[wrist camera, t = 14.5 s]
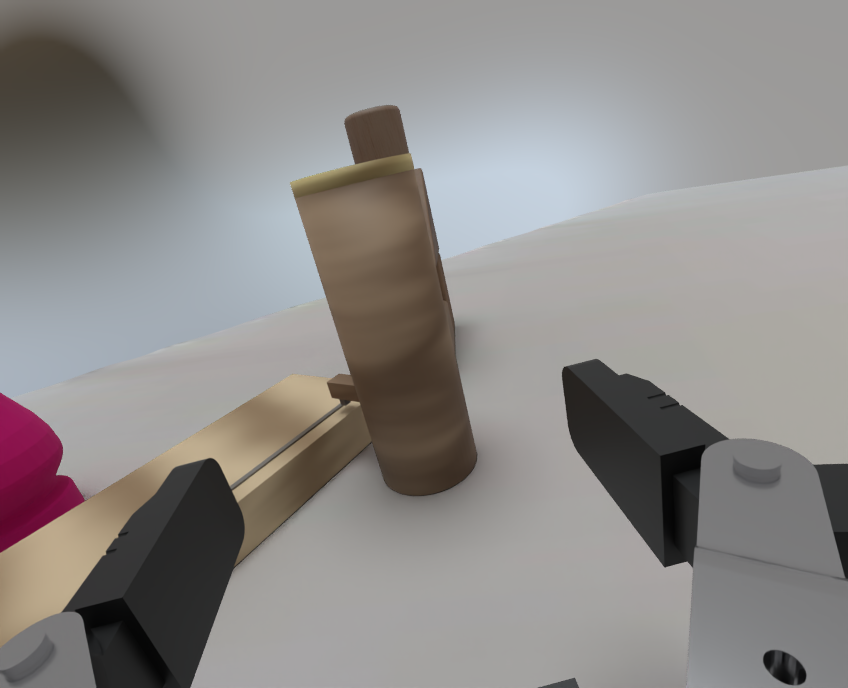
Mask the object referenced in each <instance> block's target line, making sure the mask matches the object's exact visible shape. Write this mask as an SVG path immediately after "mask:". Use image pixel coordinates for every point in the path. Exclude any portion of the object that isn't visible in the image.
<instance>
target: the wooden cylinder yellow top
mask: <svg viewBox="0 0 848 688" xmlns="http://www.w3.org/2000/svg"><path fill="white" fill-rule="evenodd" d="M290 184H291V188H292V190H293V194H294V197H295V200H296V203H297V207H298V210H299V213H300V216H301V219H302V222H303V225H304V228H305V232H306V235H307V238H308V241H309V244H310V248H311V251H312V254H313V257H314V260H315V263H316V266H317V269H318V273H319V276H320V279H321V282H322V285H323V289H324V291H325V295H326V298H327V301H328V304H329V308H330V311H331V314H332V317H333V320H334V323H335V326H336V330H337V333H338V336H339V339H340V342H341V345H342V349H343V352H344V355H345V358H346V361H347V364H348V367H349V371H350V374H351V375H345V374H338V375H337V376H335V377H334V378H332V379H331V380H329V381H328V382H327V385H328V388H329V391H330V394H331V397H332V398H334V399H339V400H340V403H341V405H344V406H347V405H348V404H349V403H350V402H351V401H355V402H360V405H361V408H362V412H363V415H364V418H365V421H366V424H367V427H368V431H369V434H370V437H371V440H372V443H373V446H374V449H375V453H376V456H377V459H378V462H379V465H380V468H381V472H382V475H383V478H384V481H385V482H386V484H387V485H388V486H389V487H390V488H391V489H392V490H394V491H396V492H398V493H401V494H405V495H413V496H421V495H429V494H434V493H438V492H441V491H444V490H447V489H449V488H451V487H453V486H455V485H456V484H458V483H459V482H461V481H462V480H463V479H465V478H466V477H467V476H468V475H469V474H470V472H471V471H472V470H473V468H474V466H475V464H476V460H477V452H476V447H475V443H474V438H473V434H472V429H471V425H470V420H469V416H468V411H467V407H466V402H465V397H464V393H463V388H462V384H461V379H460V375H459V370H458V366H457V361H456V357H455V352H454V347H453V343H452V338H451V334H450V329H449V325H448V320H447V316H446V311H445V307H444V302H443V297H442V293H441V288H440V284H439V279H438V275H437V270H436V266H435V261H434V257H433V252H432V247H431V243H430V238H429V234H428V229H427V225H426V220H425V216H424V211H423V207H422V202H421V197H420V193H419V188H418V184H417V179H416V175H415V170H414V166H413V161H412V157H411V154H410V153H409V154H402V155H396V156H391V157H386V158H382V159H377V160H372V161H368V162H364V163H359V164H355V165H351V166H347V167H343V168H339V169H335V170H331V171H327V172H323V173H320V174H316V175H312V176H309V177H305V178H302V179H299V180H296V181H293V182H290Z"/></svg>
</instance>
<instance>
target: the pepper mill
mask: <svg viewBox="0 0 848 688" xmlns="http://www.w3.org/2000/svg"><path fill="white" fill-rule="evenodd" d="M62 455H63V446H62V443H61V441H60V439H59V438H58V436H57V435H56V434H55V433H54V431H53V430H52V429H51V427H50V426H49V425H48V424H47V423H45V422H44V421H43V420H42V419H41V418H39V417H38V416H37V415H36V414H34V413H33V412H32V411H30V410H28V409H27V408H25V407H23V406H21V405H20V404H18V403H16V402H15V401H13V400H11V399H10V398H8V397H6V396H5V395H3V394H2V393H0V553H1V552H3V551H4V550H6V549H8V548H9V547H11V546H13V545H14V544H16V543H18V542H19V541H21V540H22V539H24V538H26V537H27V536H29V535H31V534H32V533H34V532H36V531H37V530H39V529H40V528H42V527H44V526H45V525H47V524H49V523H50V522H52V521H53V520H55V519H57V518H58V517H60V516H62V515H63V514H65V513H67V512H68V511H70V510H71V509H73V508H75V507H76V506H78V505H80V504H81V503H83V502H84V498H83V496H82V494H81V493H80V491H79V490H78V488H77V486H76V485H75V483H74V482H73V480H72V479H71V478H70V477H68V476H63V475H56V473H57V470H58V468H59V465H60V462H61V459H62Z"/></svg>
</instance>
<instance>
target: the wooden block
mask: <svg viewBox="0 0 848 688" xmlns="http://www.w3.org/2000/svg"><path fill="white" fill-rule="evenodd" d="M344 124H345V128H346V131H347V135H348V139H349V143H350V146H351V151H352V154H353V158H354V162H355V164H359V163H364V162H368V161H372V160H377V159H382V158H386V157H391V156H396V155H402V154H409V151H408V147H407V142H406V137H405V133H404V129H403V123H402V119H401V114H400V110H399V109H398V107H397V106H393V105H384V106H378V107H373V108H369V109H365V110H362V111H358V112H356V113H353V114H351V115H349V116H348V117H347V118H346V119H345V123H344ZM414 170H415V175H416V179H417V184H418V188H419V193H420V197H421V202H422V207H423V211H424V216H425V220H426V225H427V229H428V234H429V238H430V243H431V247H432V252H433V257H434V261H435V266H436V270H437V275H438V279H439V284H440V288H441V293H442V297H443V302H444V307H445V311H446V316H447V320H448V325H449V329H450V334H451V338H452V343H453V347H454V352H455V324H454V318H453V313H452V309H451V304H450V299H449V295H448V290H447V285H446V281H445V276H444V271H443V267H442V262H441V257H440V254H439V253H438V252H439V246H438V242H437V237H436V232H435V228H434V223H433V218H432V214H431V209H430V204H429V200H428V195H427V190H426V186H425V181H424V177H423V172H422V170H421V168H419V169H414Z"/></svg>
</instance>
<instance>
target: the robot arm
mask: <svg viewBox="0 0 848 688" xmlns="http://www.w3.org/2000/svg"><path fill="white" fill-rule="evenodd" d="M562 380H563V388H564V396H565V404H566V412H567V420H568V427H569V432H570V435H571V439H572V441H573V444H574V446H575V448H576V450H577V452H578V453H579V454H580V456H581V457H582V458H583V460H584V461H585V462H586V464H587V465H588V466H589V468H590V469H591V470H592V472H593V473H594V474H595V476H596V477H597V478H598V480H599V481H600V482H601V484H602V485H603V486H604V488H605V489H606V490H607V492H608V493H609V494H610V496H611V497H612V498H613V500H614V501H615V502H616V504H617V505H618V506H619V507H620V509H621V510H622V511H623V513H624V514H625V515H626V517H627V518H628V519H629V521H630V522H631V523H632V525H633V526H634V527H635V529H636V530H637V531H638V533H639V534H640V535H641V537H642V538H643V539H644V541H645V542H646V543H647V545H648V546H649V547H650V549H651V550H652V551H653V553H654V554H655V555H656V557H657V558H658V559H659V561H660V562H661V563H662V564H663V566H664V567H668V566H671V565H675V564H679V563H683V562H687V561H688V563H689V564H690V565H691V566H692V567H693V580H692V597H691V614H690V631H689V649H688V666H687V683H686V688H848V464H822V465H813V464H812V463H811V462H810V461H809V460H807V459H806V458H805V457H804V456H802V455H801V454H799V453H797V452H795V451H793V450H792V449H789V448H787V447H784V446H782V445H779V444H776V443H772V442H768V441H763V440H756V439H728V438H727V437H726V436H724V435H723V434H721V433H720V432H719V431H717V430H716V429H715V428H713V427H712V426H710V425H709V424H708V423H706V422H705V421H703V420H702V419H701V418H699V417H698V416H697V415H695V414H694V413H692V412H691V411H690V410H688V409H687V408H686V407H684V406H683V405H681V406H680V405H679V402H677V401H676V400H675V399H673V398H672V397H670V396H669V395H667V396H666V394H665V392H663V391H662V390H661V389H659V388H658V387H657V386H655V385H654V384H652V383H651V382H650V381H647V380H644V379H641V378H638V377H635V376H632V375H629V374H623V375H618V374H616V373H615V372H614V371H613V370H611V369H610V368H609V367H607V366H606V365H605V364H604V363H602V362H601V361H600V360H598V359H594V360H590V361H586V362H582V363H578V364H574V365H570V366H566V367H564V368H563V371H562ZM244 534H245V524H244V518H243V514H242V511H241V509H240V507H239V505H238V503H237V500H236V498H235V496H234V494H233V492H232V490H231V488H230V486H229V484H228V481H227V479H226V477H225V475H224V473H223V471H222V469H221V467H220V465H219V463H218V462H217V461H216V460H215V459H213V458H207V459H203V460H200V461H196V462H192V463H188V464H184V465H180V466H176V467H175V468H173V470H172V471H171V472H170V474H169V475H168V476H167V478H166V479H165V481H164V482H163V484H162V485H161V486H160V488H159V489H158V491H157V492H156V494H155V495H154V496H152V497H151V498H150V499H149V500H148V501H147V502H146V503H145V504H143V505H142V506H141V507H140V508H139V509H138V510H137V511H136V512H134V513H133V514H132V516H131V517H130V518H129V520H128V521H127V522H126V524H125V525H124V527H123V528H122V529H121V531H120V532H119V533H118V538H115V539H114V540H113V542H112V543H111V545H110V546H109V547H108V549H107V550H106V555H104V556H102V557H101V558H100V560H99V561H98V562H97V564H96V565H95V567H94V568H93V569H92V571H91V572H90V574H89V575H88V576H87V578H86V579H85V580H84V582H83V583H82V585H81V586H80V587H79V589H78V590H77V592H76V593H75V594H74V596H73V597H72V598H71V600H70V601H69V603H68V604H67V605H66V607H65V608H64V609H63V611H62V612H61V613H58V614H55V615H52V616H49V617H47V618H44V619H42V620H40V621H38V622H36V623H35V624H33V625H31V626H29V627H28V628H26V629H24V630H23V631H22V632H20V633H19V634H17V635H16V636H14V637H13V638H12V639H10V640H9V641H8V642H6V643H5V644H4V645H3V646H2V647H1V648H0V688H190V687H191V684H192V681H193V679H194V676H195V673H196V670H197V667H198V665H199V662H200V659H201V656H202V654H203V651H204V648H205V645H206V643H207V640H208V637H209V634H210V632H211V629H212V626H213V623H214V620H215V618H216V615H217V612H218V609H219V607H220V604H221V601H222V598H223V596H224V593H225V590H226V587H227V585H228V582H229V579H230V576H231V574H232V571H233V568H234V565H235V562H236V560H237V557H238V554H239V551H240V549H241V546H242V543H243V540H244ZM539 688H579V687H578V684H577V682H576V679H575V678H572V679H569V680H565V681H561V682H558V683H554V684H550V685H546V686H543V687H539Z"/></svg>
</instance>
